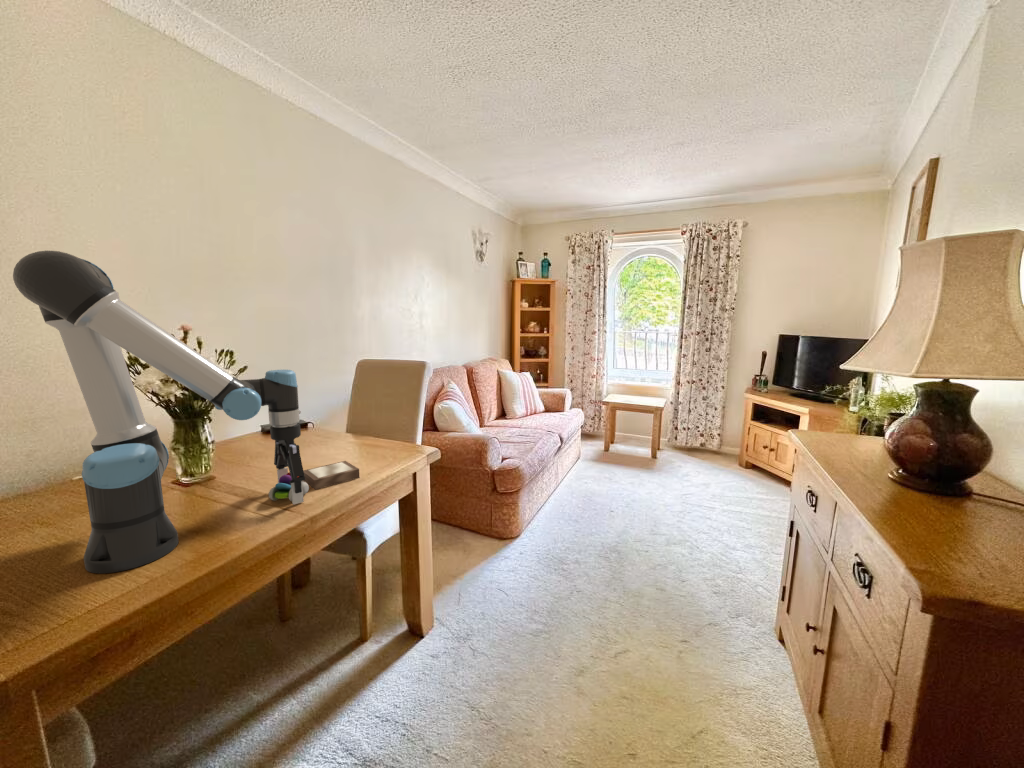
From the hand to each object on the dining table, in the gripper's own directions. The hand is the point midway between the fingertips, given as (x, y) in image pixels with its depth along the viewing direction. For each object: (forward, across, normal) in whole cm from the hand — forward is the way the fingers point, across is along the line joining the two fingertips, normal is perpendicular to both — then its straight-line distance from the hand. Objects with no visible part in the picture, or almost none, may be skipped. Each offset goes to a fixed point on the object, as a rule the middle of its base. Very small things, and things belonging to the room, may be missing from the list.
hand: (290, 495), depth 119 cm
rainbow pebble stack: (+1, 0, 0) cm, 1 cm away
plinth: (0, +6, -14) cm, 15 cm away
